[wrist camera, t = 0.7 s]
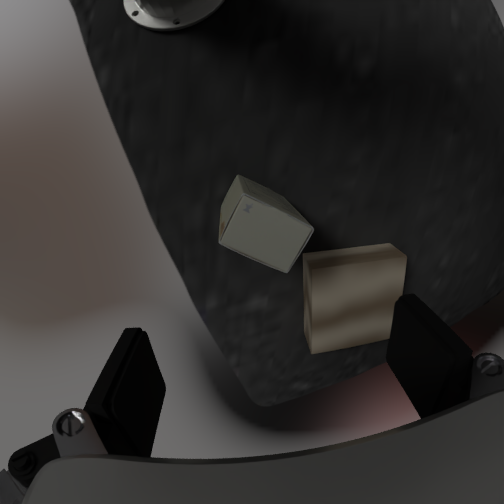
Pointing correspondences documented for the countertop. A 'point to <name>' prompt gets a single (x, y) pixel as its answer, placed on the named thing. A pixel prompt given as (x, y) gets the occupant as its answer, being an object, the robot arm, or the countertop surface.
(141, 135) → the countertop surface
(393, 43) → the countertop surface
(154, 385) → the robot arm
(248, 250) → the skincare box
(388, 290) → the birch block
